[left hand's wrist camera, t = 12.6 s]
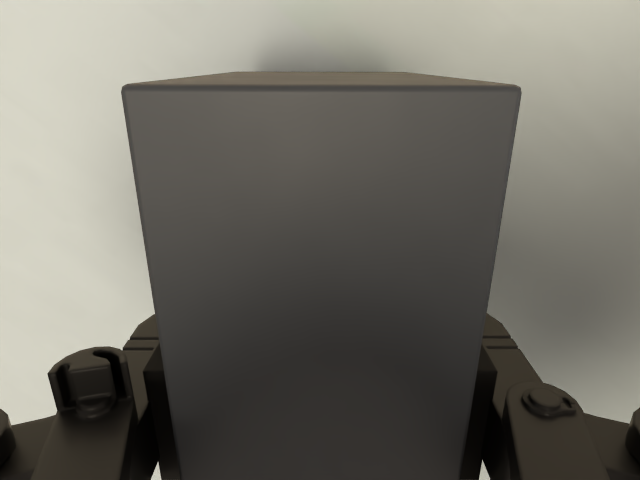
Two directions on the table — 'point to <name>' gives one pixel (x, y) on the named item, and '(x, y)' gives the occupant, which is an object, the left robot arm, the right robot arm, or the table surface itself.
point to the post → (320, 265)
